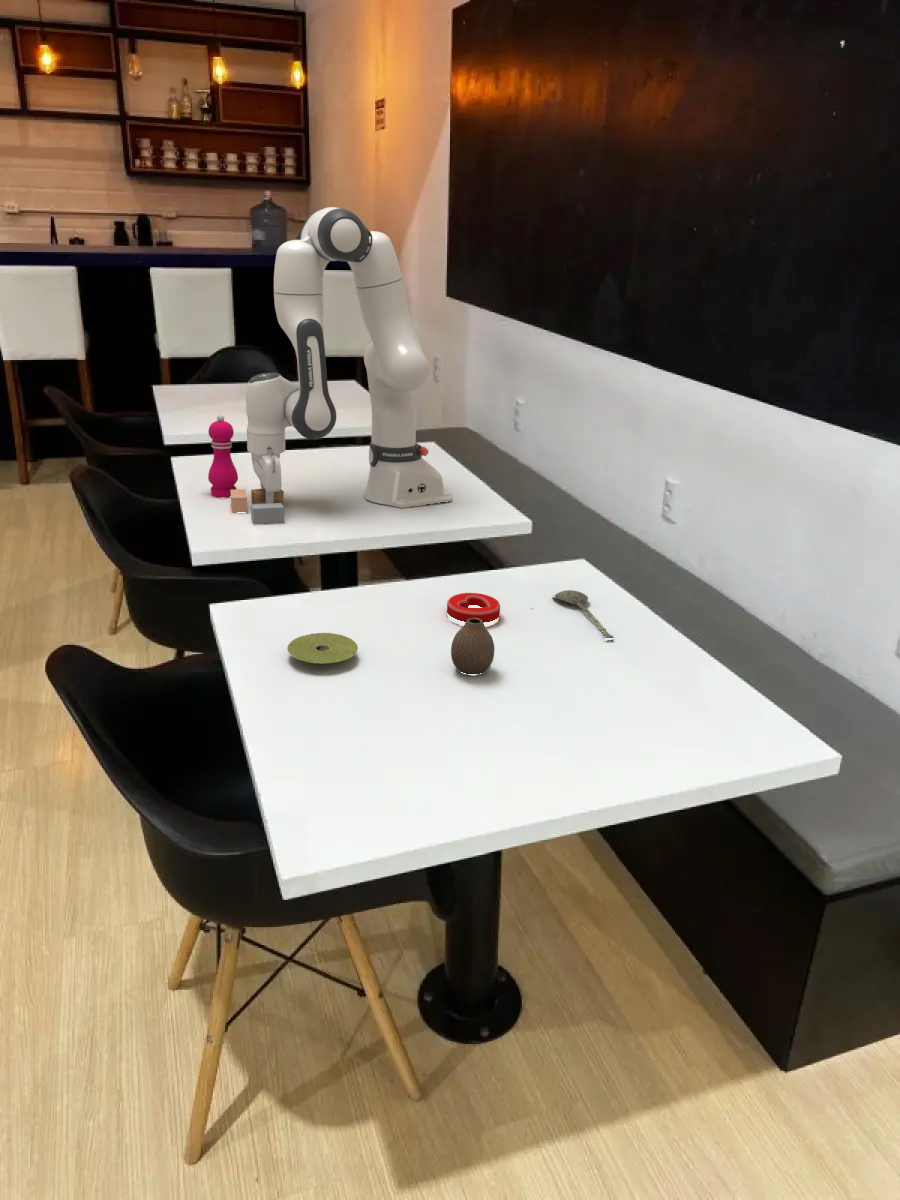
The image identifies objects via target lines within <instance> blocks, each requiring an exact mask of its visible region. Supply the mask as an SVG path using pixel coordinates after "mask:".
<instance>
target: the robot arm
mask: <svg viewBox="0 0 900 1200" xmlns="http://www.w3.org/2000/svg"><path fill="white" fill-rule="evenodd" d="M275 255H276V256H275V261H274V271H273V299H274V308H275V309H274V310H275V313H276V319H277V322H278V324H279V326H280V328H281V329H282V330H283V332H284V333H285V334H286V335H287V337H288V339H289V340H290V342H291V344H292V346H293V348H294V350H295V355H296V359H297V362H296V363H297V375H298V376H297V377H298V384H296V383H294V382H292V381H291V380H288V379H286V378H284V377H283V376H282V375H281V374H280V373H278V372H262V373H258V374H256V375H254V376H252V377H251V378H250V379H249V380H248V382H247V385H246V392H245V393H246V395H245V413H246V416H247V427H246V448H247V452H248V453H250V454H251V462H252V463H251V464H252V468H253V471H254V473H255V475H256V476H257V478H258V479H259V484H260V489H265V501H266V503H267V504H270V503H273V502H274V492H279V491H281V489H282V486H283V484H282V466H281V461H280V458H281V454H283V453H285V452H286V428H288V427H293V428H294V429H295V430H296V432H297V433H299V434H300V435H301V436H302V437H304V438H306V439H308V440H319V439H322V438H324V437H326V436H327V435H329V433H331V432H332V430H333V429H334V427H335V425H336V422H337V410H336V408H335V404H334V402H333V400H332V398H331V396H330V392H329V385H328V373H327V359H326V348H325V347H326V345H325V340H324V339H325V336H324V332H325V331H324V285H323V284H324V282H323V278H324V272H325V269H326V267H327V265H328V264H329V263H330V262H337V261H338V262H339V261H340V262H346V263H347V264H348V265H349V267H350V270H351V273H353V280H354V284H355V290H356V295H357V299H358V303H359V307H360V313H361V318H362V320H363V324H364V325H365V328H366V329H367V331H368V334H369V337H370V339H371V342H370V344H368V345H367V347H366V348H365V351H364V354H363V362H364V366H365V369H366V374H367V382H368V383H367V385H368V391H369V398H370V405H371V441H370V442H369V448H368V463H369V472H368V479H367V484H366V487H365V492H364V494H363V497H364V499H366V501H367V500H368V501H369V502H372V503H376V504H380V505H386V506H392V507H396V508H400V509H401V508H404V509H406V508H412V506H413V507H419V506H427V505H426V504H430V505H435V503H438V504H441V503H440V502H446V503H449V502H448V501H451V500H452V501H453V496H452V493H451V492H450V491H449V490H447V489H446V488H444V480H443V477H442V475H441V473H440V472H439V470H437V469H436V468H435V467H434V466H432V464H430V463H429V462H428V461H426V459H424V458H423V457H427V456H428V454H429V449H428V448H427V447H426V446H422V445H421V444H418V443H417V441H416V439H417V438H416V436H417V434H416V433H417V416H418V415H417V410H416V407H415V403H414V399H413V393H412V392H415V391H419V389H421V388H423V387H424V385H425V384H426V383H427V381H428V380H429V377H430V371H431V368H430V363H429V361H428V358H427V357H426V355H425V354H424V351H423V348H422V346H421V342H420V339H419V337H418V334H417V331H416V329H415V325H414V323H413V320H412V317H411V313H410V310H409V305H408V301H407V296H406V291H405V287H404V281H403V277H402V276H403V275H402V271H401V267H400V264H399V259H398V257H397V253H396V250H395V248H394V245H393V243H392V241H391V238H390V237H389V236H388V235H387V234H385V233H384V232H381V231H375V230H371V231H370V230H369V229H368V228H367V226H366V225H365V224H364V222H363V221H362V219H360V217H359V216H358V215H357V214H355V213H354V212H353V211H351V210H349V209H346V208H340V207H337V206H336V207H335V206H334V207H333V206H329V207H325V208H319V209H315V210H314V211H313V212H311V213H310V214H309V215H308V216H307V218H305V221H304V222H303V224H302V227H301V229H300V231H299V233H298V234H297V236H296V239H292V240H291V239H290V240H288V241H285V242H283V243H282V244H281V245H279V247H278V248H277V250H276V254H275ZM452 501H451V502H452ZM433 503H434V504H433Z"/></svg>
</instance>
